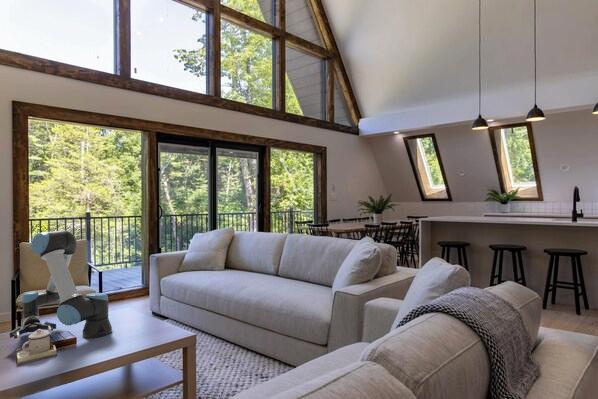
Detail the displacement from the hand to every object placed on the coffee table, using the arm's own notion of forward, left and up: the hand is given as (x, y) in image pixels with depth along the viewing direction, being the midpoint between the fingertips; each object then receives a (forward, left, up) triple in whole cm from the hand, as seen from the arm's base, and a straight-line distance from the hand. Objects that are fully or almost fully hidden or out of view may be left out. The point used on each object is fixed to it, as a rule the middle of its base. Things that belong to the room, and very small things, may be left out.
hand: (34, 334), depth 195 cm
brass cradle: (-7, +7, -8) cm, 12 cm away
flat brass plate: (-3, +3, -9) cm, 9 cm away
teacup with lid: (-5, +5, -8) cm, 10 cm away
